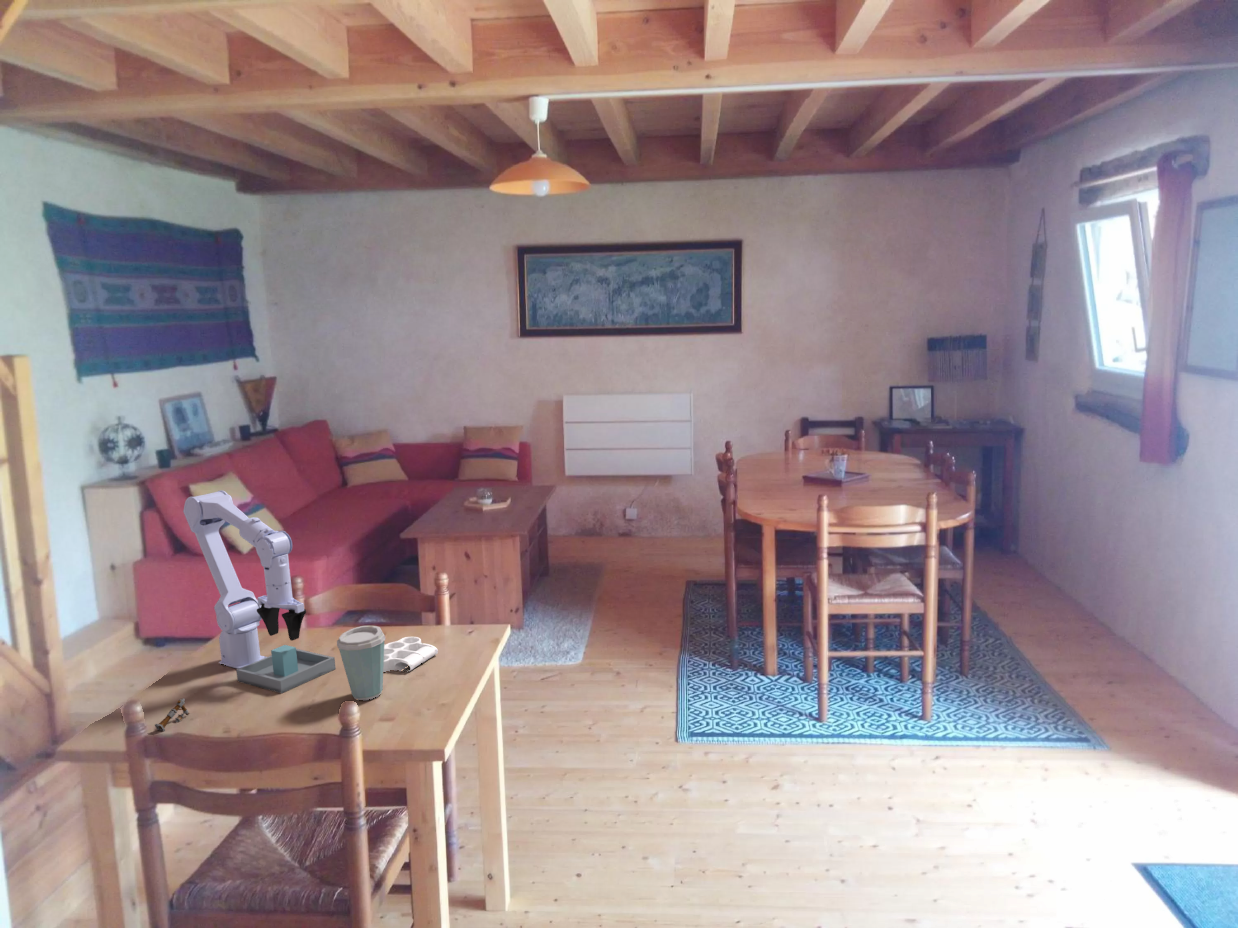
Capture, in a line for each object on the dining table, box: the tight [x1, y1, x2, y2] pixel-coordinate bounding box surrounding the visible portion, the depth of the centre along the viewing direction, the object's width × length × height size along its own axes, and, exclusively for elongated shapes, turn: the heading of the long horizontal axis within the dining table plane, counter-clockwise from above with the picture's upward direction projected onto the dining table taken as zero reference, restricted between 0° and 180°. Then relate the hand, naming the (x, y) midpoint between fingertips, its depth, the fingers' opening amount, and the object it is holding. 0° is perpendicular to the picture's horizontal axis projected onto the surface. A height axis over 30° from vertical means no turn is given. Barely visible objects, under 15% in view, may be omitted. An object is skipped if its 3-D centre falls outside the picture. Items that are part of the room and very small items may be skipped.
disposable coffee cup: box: [336, 625, 387, 701], centre depth 209 cm, size 11×11×15 cm
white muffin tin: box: [383, 636, 439, 673], centre depth 230 cm, size 3×18×15 cm
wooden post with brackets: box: [154, 698, 190, 732], centre depth 200 cm, size 2×8×4 cm, turn 159°
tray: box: [236, 648, 337, 694], centre depth 224 cm, size 16×16×3 cm
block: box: [270, 644, 298, 677], centre depth 223 cm, size 4×4×6 cm
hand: (284, 636), depth 224 cm, fingers open, 7 cm apart
